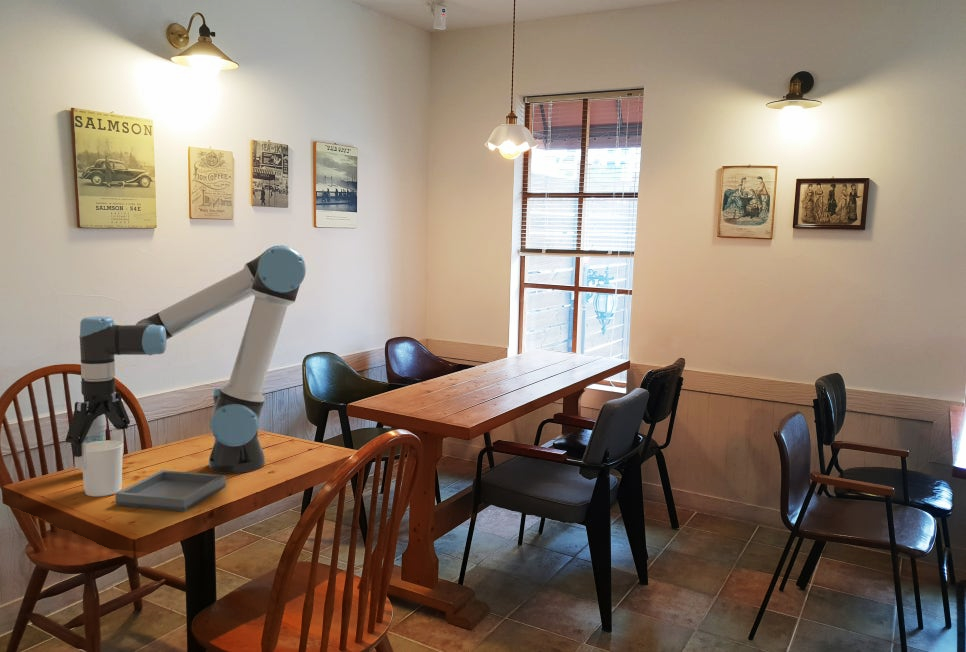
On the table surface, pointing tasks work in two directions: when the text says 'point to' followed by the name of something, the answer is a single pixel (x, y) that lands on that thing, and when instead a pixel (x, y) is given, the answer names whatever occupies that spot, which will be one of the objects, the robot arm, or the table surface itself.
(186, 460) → the table surface
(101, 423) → the bottle
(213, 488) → the tray
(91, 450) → the candle holder
